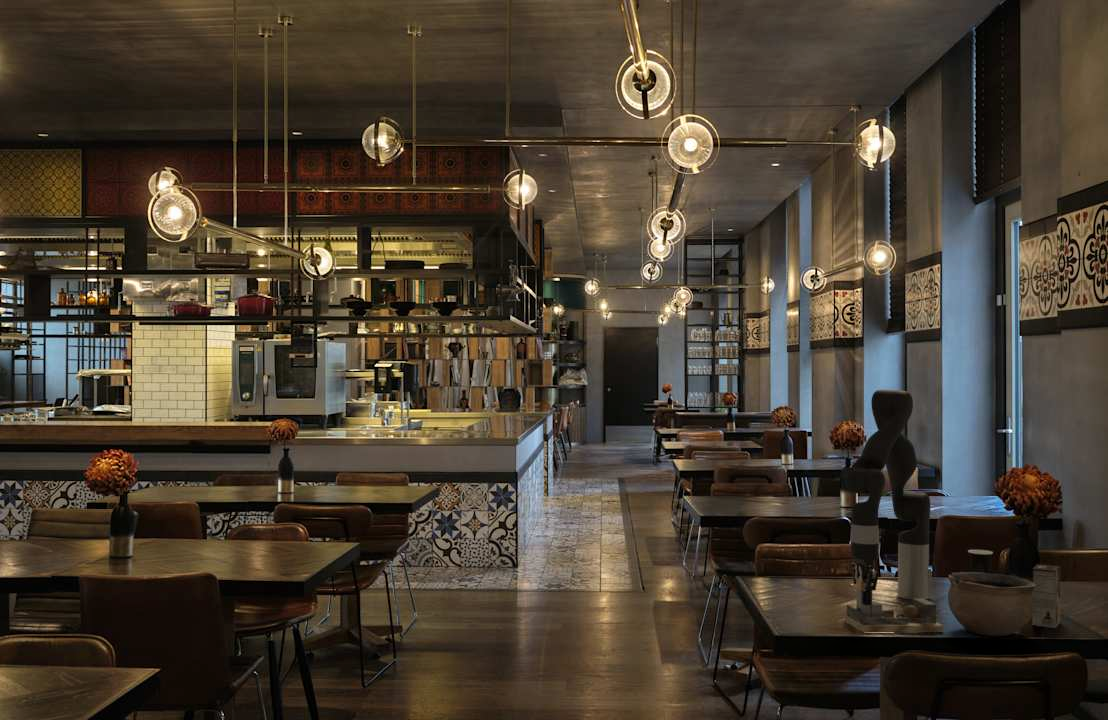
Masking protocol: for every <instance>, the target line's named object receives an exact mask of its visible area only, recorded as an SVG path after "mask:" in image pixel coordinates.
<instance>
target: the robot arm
mask: <svg viewBox="0 0 1108 720" xmlns="http://www.w3.org/2000/svg"><path fill="white" fill-rule="evenodd" d="M870 403H871V404H870V405H871V412H872V416H873V420H874V422H875V425H876V428H877V431H875V432H874V433H872V434H871V436H870V437H869V438H868V439H867V441H866V443H865V445H864V447H863V449H862V452H861V455H860V456H858V458H857V460H856V461H855V462H853V463H852V465H851V466H850V468H849V469H848V470H847V472H846V474H845V477H844V485H845V487H846V489H847V491H848V492H850V493H852V494H865V495H868V498H867V499H866V500H865V501H859V502H854V503H853V504H852V506H851V528H850V557H851V558H852V559H855V561H854V563H852V562H851V565H850V566H851V575H852V581H853V585H854V586H855V587H856V589H857V577H860V581H861V582H862V583H863V604H864V605H871V604H872V601H873V592H874V591H876V589H877V584H878V580H879V579H878V578H879V574H880V573H879V570H875V564H874V560H878V559H879V558H880V531H879V509H880V503H881V499H882V496H883V494H884V493H883V492H884V489H885V486H886V476H885V474H884V473H883V469H884V468H886V472H887V475H888V479H889V484H890V493H891V500H892V508H893V509H892V510H893V513H894V515H895V518H896V519H897V520H900V521H905V522H907V521H908V522H916V523H917V525H916V526H915V527H913V528H912V529H910V530H909V529H908V530H904V531H902V532H899V533H898V537H897V539H898V541H897V544H898V545H897V551H898V552H897V554H898V556H897V558H898V559H897V597H899V598H901V599H903V600H912V601H913V599H921V598H923V599H926V600H931V599H932V567H930V518H931V499H930V495H929V494H928V493H926V492H919V491H917V492H916V491H906V490H904V488H905V485H906V484H907V482H909V480H910V479H911V478H912V476H913V475H914V474H915V472H916V469H917V467H918V461H917V455H916V450H915V447H914V445H913V443H912V442H911V441H910V439H909V438H908V437H907V436H906V435H905V434H903V430H904V429H905V426H906V425H907V424H908V422H909V420H910V419H911V416H912V412H913V409H914V407H913V406H914V401H913V396H912V394H911V393H910V392H909V391H906V390H898V389H896V390H895V389H878V390H875V391H874V392H873V393H872V396H871V402H870ZM865 579H867V580H865Z"/></svg>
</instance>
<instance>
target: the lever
mask: <svg viewBox="0 0 1108 720" xmlns="http://www.w3.org/2000/svg"><path fill="white" fill-rule="evenodd" d="M865 580H867V579H865ZM855 608H856V609H858V610H859V611H861V612H863V613H865V614H866V618H884V617H883V616H882V610H883V604H882V603H881V602H879V601H875V600H874V601H873V600H872V604H871V605H864V604H863V583H862V582H861V581H860V577H857V588H856V607H855Z"/></svg>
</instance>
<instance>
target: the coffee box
mask: <svg viewBox="0 0 1108 720" xmlns="http://www.w3.org/2000/svg"><path fill="white" fill-rule="evenodd" d="M1031 570H1032V571H1031V572H1032V573H1031V575H1032V579H1031V582H1032V583H1034V584H1035V585H1036V586H1035V588H1034V590H1033V592H1032V595H1033V598H1034V613H1033V615H1032V617H1031V619H1032V621H1031V622H1032V626H1034V625H1036V627H1042V626H1043V628H1051V629H1056V628H1058V626H1059V624H1060V623H1061V566H1060V565H1050V564H1039V563H1038V564H1036V565H1035V566H1034V567H1032V569H1031Z"/></svg>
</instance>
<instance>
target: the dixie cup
mask: <svg viewBox="0 0 1108 720" xmlns="http://www.w3.org/2000/svg"><path fill="white" fill-rule="evenodd" d="M967 552H968V555H969V556H968V557H969V559H968V560H969V566H970V572H982V573H988V574H991V567H992V561H993V560H992V558H993V553H994V552H993V551H991V550H986V549H969V550H967Z"/></svg>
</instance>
